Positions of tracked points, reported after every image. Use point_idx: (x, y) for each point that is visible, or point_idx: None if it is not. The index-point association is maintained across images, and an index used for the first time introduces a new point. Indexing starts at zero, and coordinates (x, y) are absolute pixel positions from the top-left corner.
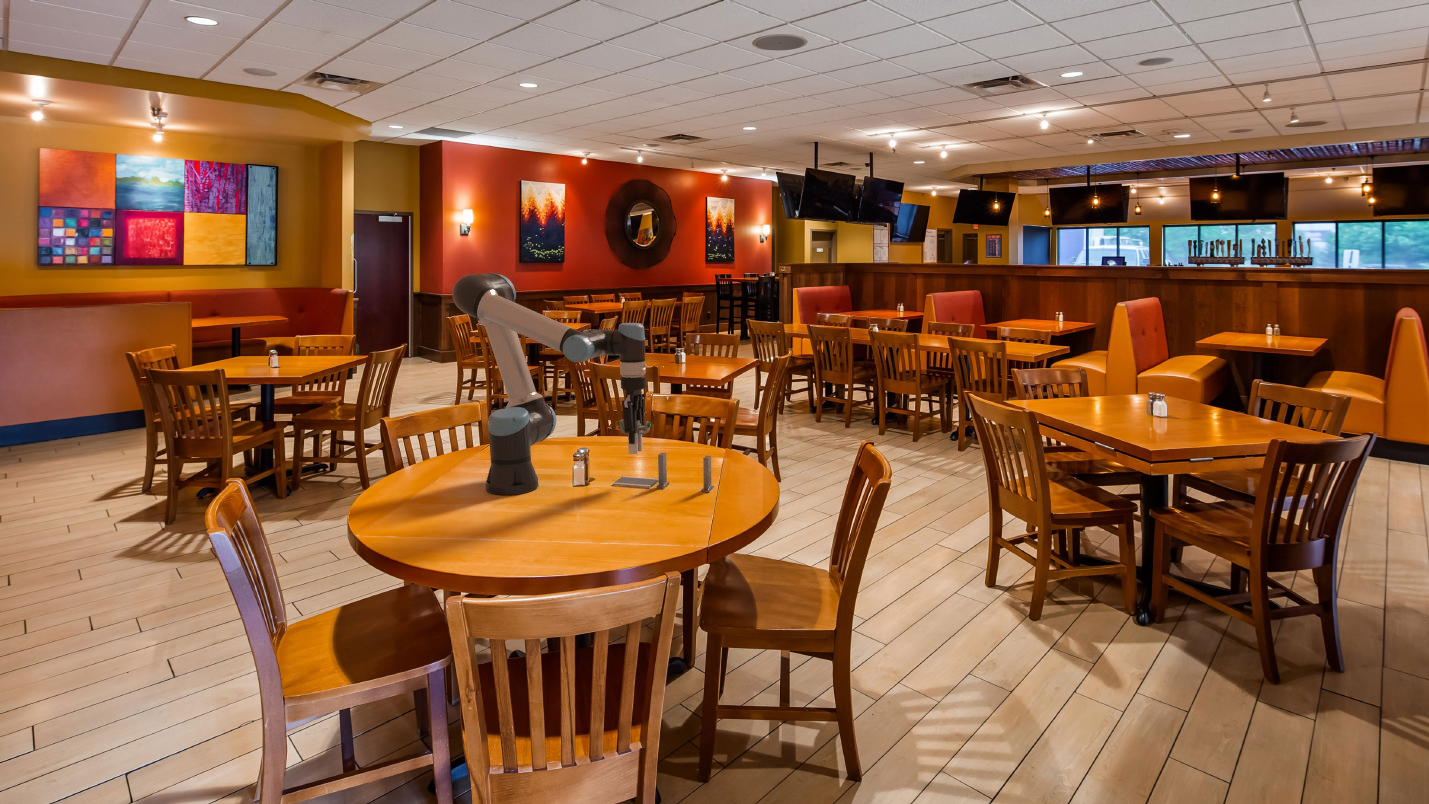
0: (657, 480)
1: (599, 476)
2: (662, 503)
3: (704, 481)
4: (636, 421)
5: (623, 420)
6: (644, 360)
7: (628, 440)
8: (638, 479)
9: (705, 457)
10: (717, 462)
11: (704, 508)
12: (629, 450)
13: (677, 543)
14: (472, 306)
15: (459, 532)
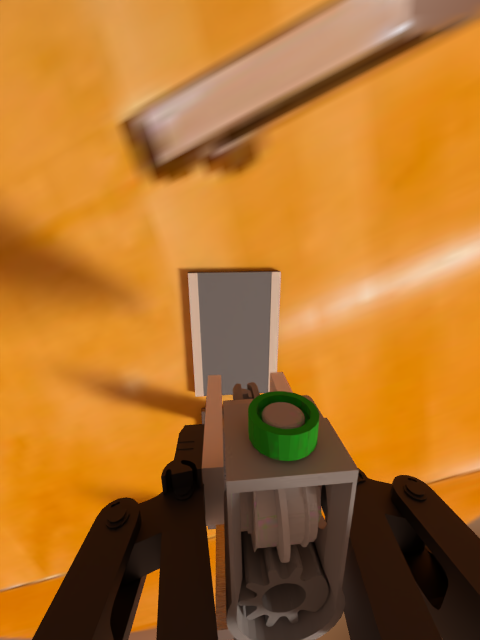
0: (261, 392)
1: (281, 172)
2: (82, 467)
3: (216, 540)
4: (305, 604)
5: (339, 471)
6: None
7: (205, 423)
8: (256, 337)
9: (225, 632)
10: (473, 460)
11: None
12: (207, 389)
13: None
14: None
15: None
